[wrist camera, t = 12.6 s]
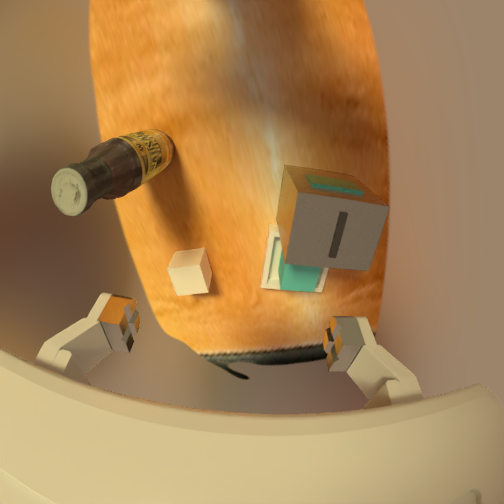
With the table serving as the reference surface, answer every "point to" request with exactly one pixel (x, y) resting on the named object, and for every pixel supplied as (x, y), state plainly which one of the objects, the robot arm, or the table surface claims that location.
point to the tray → (272, 262)
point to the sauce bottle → (111, 170)
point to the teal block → (297, 276)
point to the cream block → (190, 271)
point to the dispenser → (328, 219)
